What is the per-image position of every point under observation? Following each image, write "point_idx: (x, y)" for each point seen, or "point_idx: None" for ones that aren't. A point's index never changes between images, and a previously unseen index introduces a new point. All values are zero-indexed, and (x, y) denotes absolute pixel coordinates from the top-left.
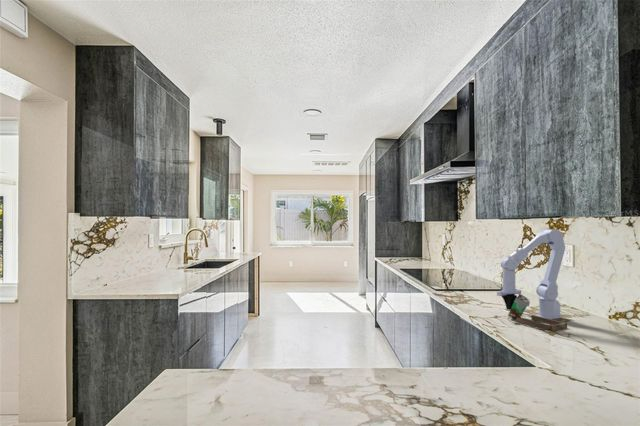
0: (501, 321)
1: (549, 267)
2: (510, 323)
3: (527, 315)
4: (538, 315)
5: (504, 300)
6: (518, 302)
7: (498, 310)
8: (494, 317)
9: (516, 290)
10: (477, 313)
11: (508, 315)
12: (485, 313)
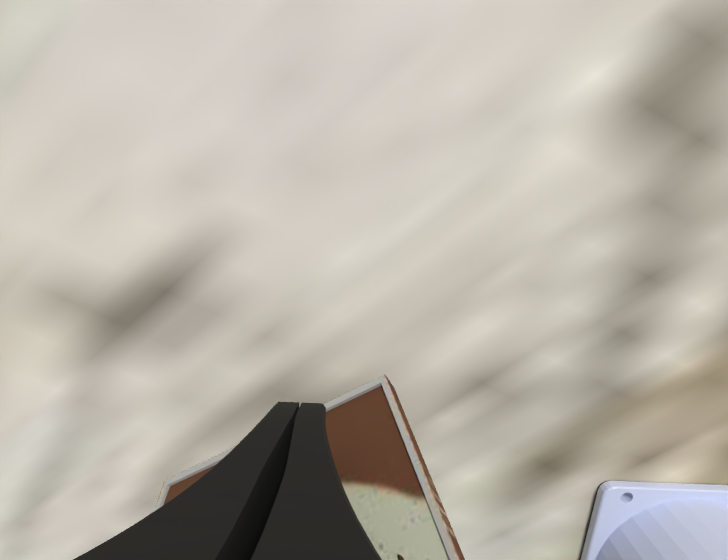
0: (47, 473)
1: None
2: (82, 552)
3: (556, 431)
4: (627, 512)
5: (166, 518)
6: None
7: (499, 39)
8: (96, 325)
9: None
10: (11, 33)
11: (168, 486)
12: (137, 98)
